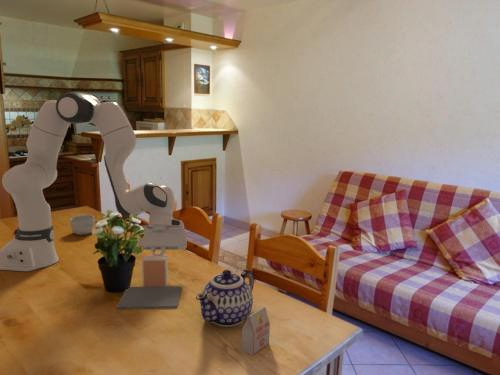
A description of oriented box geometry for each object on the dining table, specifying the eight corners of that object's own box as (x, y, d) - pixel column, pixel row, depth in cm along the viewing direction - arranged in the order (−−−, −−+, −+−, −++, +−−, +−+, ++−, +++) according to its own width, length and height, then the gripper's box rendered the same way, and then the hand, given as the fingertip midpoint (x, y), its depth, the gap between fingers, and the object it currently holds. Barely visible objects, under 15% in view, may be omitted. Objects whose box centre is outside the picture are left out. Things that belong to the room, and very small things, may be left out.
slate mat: (117, 308, 119) (116, 307, 119) (127, 288, 133) (127, 286, 133) (177, 307, 121) (177, 306, 120) (181, 287, 134) (181, 286, 134)
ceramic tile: (142, 287, 134) (141, 259, 132) (144, 283, 137) (143, 256, 135) (166, 287, 135) (166, 259, 133) (167, 283, 138) (167, 256, 136)
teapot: (235, 296, 130) (236, 253, 127) (272, 311, 121) (274, 265, 118) (176, 325, 111) (176, 276, 108) (215, 346, 101) (216, 292, 99)
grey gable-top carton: (241, 350, 100) (242, 313, 98) (258, 339, 105) (259, 304, 103) (252, 356, 98) (253, 319, 96) (269, 344, 103) (270, 309, 101)
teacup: (89, 236, 185) (88, 220, 183) (66, 236, 185) (65, 219, 183) (100, 228, 199) (100, 212, 197) (79, 227, 199) (78, 212, 197)
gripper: (130, 221, 144) (125, 256, 137) (187, 221, 146) (185, 256, 138) (133, 229, 150) (129, 263, 142) (188, 229, 151) (186, 263, 144)
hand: (157, 260), depth 140 cm, fingers closed
